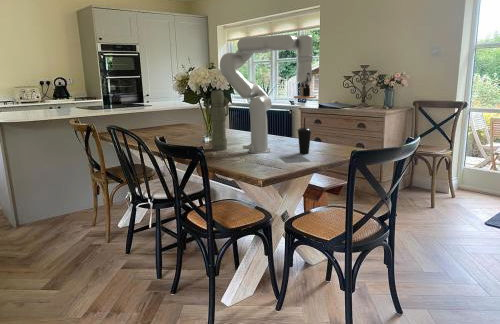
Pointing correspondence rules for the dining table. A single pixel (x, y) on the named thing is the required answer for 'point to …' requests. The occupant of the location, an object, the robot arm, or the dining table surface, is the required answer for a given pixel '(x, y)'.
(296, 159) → the mat
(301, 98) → the lid
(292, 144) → the dining table surface
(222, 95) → the thermos
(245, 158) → the dining table surface
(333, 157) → the dining table surface
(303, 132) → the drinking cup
